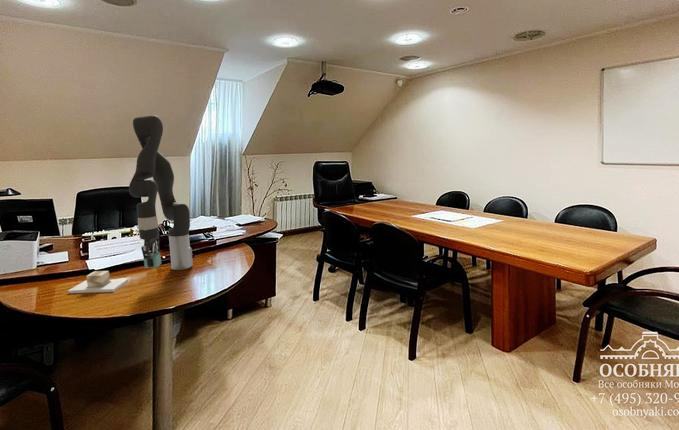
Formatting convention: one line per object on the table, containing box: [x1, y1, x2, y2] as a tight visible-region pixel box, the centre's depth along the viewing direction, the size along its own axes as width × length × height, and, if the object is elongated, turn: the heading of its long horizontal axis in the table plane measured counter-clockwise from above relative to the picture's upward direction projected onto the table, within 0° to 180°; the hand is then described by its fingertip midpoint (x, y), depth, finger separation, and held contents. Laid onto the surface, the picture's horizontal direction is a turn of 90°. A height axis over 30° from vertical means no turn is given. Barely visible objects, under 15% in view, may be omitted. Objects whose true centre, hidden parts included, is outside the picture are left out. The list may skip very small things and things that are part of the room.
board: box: [67, 278, 129, 294], centre depth 157 cm, size 18×12×1 cm, turn 95°
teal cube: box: [143, 252, 162, 269], centre depth 157 cm, size 5×5×5 cm
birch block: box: [86, 270, 111, 287], centre depth 156 cm, size 6×6×5 cm
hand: (153, 264), depth 157 cm, fingers closed on teal cube, 5 cm apart
